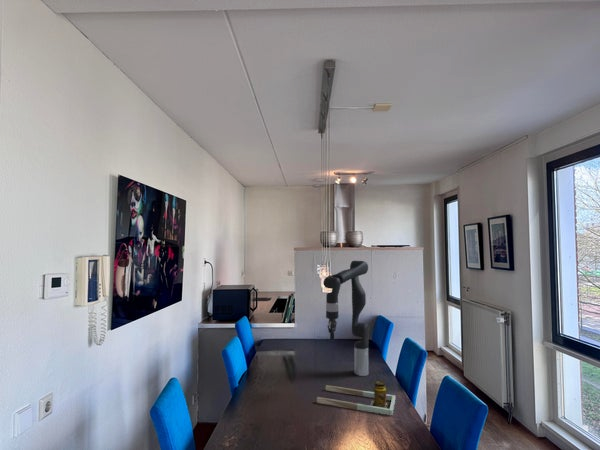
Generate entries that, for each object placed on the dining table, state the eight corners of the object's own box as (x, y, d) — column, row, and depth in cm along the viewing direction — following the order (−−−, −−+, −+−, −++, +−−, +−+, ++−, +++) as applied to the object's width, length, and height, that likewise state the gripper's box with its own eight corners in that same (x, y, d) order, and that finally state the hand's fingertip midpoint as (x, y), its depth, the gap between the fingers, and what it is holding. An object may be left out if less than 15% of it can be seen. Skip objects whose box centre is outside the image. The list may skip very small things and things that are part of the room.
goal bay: (363, 395, 193) (363, 390, 193) (395, 400, 187) (395, 395, 187) (357, 409, 176) (357, 404, 176) (392, 415, 169) (392, 410, 170)
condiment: (385, 409, 176) (385, 386, 177) (369, 406, 179) (369, 383, 180) (387, 403, 183) (387, 381, 183) (371, 401, 186) (371, 378, 186)
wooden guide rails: (326, 389, 201) (326, 385, 201) (363, 395, 193) (363, 390, 193) (316, 402, 183) (316, 398, 184) (357, 409, 176) (357, 404, 176)
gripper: (335, 312, 198) (335, 342, 197) (340, 308, 210) (340, 337, 209) (323, 311, 200) (323, 341, 199) (329, 307, 213) (329, 335, 212)
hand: (332, 339), depth 204 cm, fingers closed
